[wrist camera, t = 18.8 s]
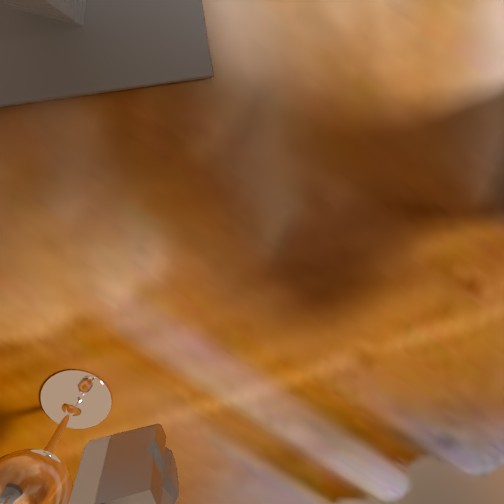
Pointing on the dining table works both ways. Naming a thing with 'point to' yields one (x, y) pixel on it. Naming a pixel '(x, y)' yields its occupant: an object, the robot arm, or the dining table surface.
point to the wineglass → (54, 440)
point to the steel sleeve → (53, 9)
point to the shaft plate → (101, 49)
